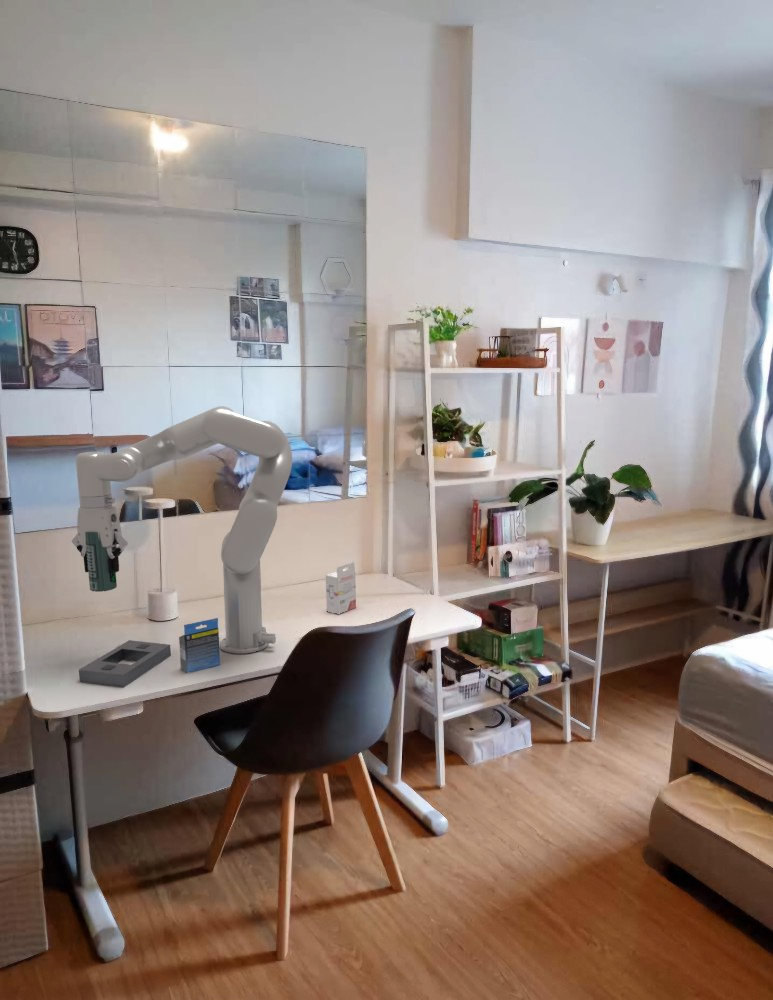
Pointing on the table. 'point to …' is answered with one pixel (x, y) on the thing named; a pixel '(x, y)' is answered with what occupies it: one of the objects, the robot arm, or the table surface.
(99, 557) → the can
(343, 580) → the ink cartridge box
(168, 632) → the table surface
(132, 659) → the rail plate
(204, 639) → the label tape cartridge
